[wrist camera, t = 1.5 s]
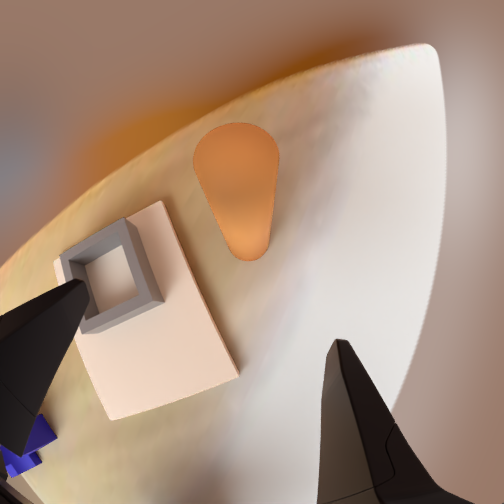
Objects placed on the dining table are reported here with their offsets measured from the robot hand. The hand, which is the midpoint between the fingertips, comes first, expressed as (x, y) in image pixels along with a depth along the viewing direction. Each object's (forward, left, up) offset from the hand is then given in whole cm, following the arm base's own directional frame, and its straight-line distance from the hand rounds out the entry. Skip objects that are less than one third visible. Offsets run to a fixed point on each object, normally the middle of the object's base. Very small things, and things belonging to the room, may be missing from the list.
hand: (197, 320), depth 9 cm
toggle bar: (+5, -4, -12) cm, 14 cm away
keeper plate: (+3, +7, -12) cm, 15 cm away
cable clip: (-6, +29, -13) cm, 32 cm away
